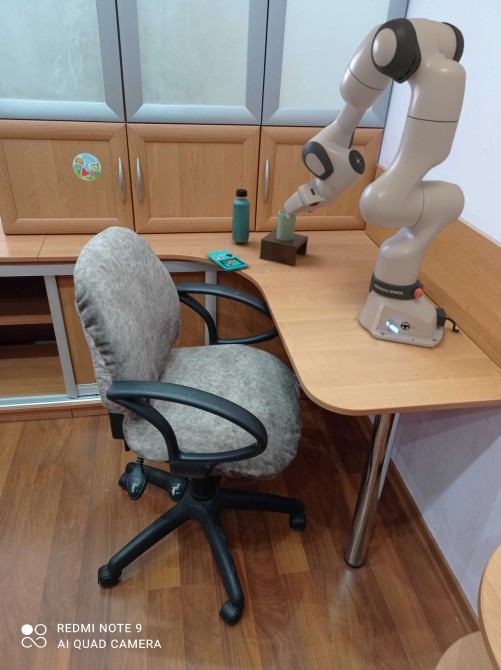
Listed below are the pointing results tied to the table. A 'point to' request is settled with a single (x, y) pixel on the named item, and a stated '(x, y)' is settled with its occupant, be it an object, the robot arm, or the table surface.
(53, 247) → the table surface
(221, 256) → the handheld gaming console
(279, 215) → the tumbler
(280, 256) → the stand
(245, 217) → the beverage bottle
